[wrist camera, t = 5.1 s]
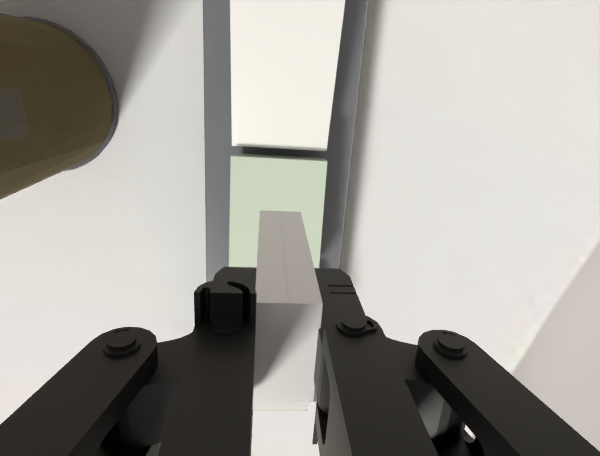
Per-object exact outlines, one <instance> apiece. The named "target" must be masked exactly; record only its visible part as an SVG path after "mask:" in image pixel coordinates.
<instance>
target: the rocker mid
mask: <svg viewBox="0 0 600 456" xmlns="http://www.w3.org/2000/svg"><path fill="white" fill-rule="evenodd" d="M326 173H327V161H326V160H325V159H324V158H316V157H298V156H279V155H261V154H243V153H233V154H232V155H231V163H230V226H229V267H255V268H257V253H258V236H259V219H260V210H266V211H290V212H301V215H302V219H303V224H304V228H305V232H306V236H307V240H308V244H309V249H310V253H311V257H312V261H313V265H314V268H319V262H320V249H321V237H322V224H323V211H324V198H325V186H326Z"/></svg>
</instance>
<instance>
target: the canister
mask: <svg viewBox="0 0 600 456" xmlns="http://www.w3.org/2000/svg"><path fill="white" fill-rule="evenodd" d="M117 108H118V106H117V99H116V92H115V89H114V86H113V83H112V80H111V78H110V76H109V74H108V72H107V70H106V68H105V66H104V64H103V62H102V61H101V59H100V58H99V57H98V56H97V54H96V53H95V52H94V51H93V49H92V48H91V47H90V46H89V45H88V44H87V43H85V42H84V41H83V40H82V39H81V38H79V37H78V36H77V35H75V34H74V33H73V32H71V31H69V30H67V29H65V28H64V27H62V26H60V25H57V24H55V23H53V22H50V21H46V20H42V19H38V18H32V17H14V16H10V15H5V14H1V13H0V199H2V198H5V197H7V196H9V195H11V194H13V193H16V192H18V191H20V190H22V189H24V188H27V187H29V186H31V185H33V184H35V183H37V182H40V181H42V180H44V179H46V178H48V177H51V176H53V175H55V174H57V173H59V172H62V171H66V170H72V169H76V168H78V167H81V166H83V165H85V164H87V163H88V162H90V161H92V160H93V159H95V158H96V157H97V156H98V155H99V154H100V153H101V152H102V150H103V149H104V148H105V147H106V145H107V144H108V142H109V141H110V139H111V138H112V135H113V132H114V129H115V126H116V118H117Z"/></svg>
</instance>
